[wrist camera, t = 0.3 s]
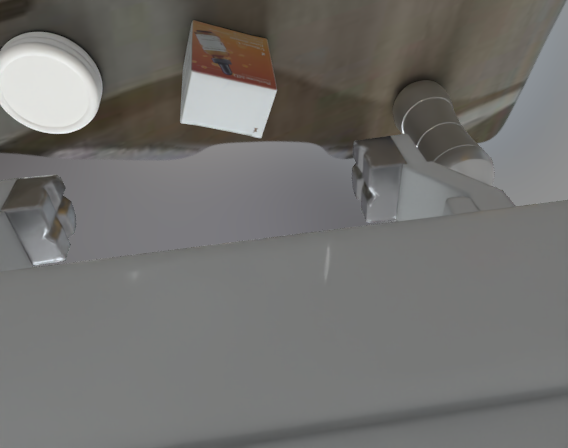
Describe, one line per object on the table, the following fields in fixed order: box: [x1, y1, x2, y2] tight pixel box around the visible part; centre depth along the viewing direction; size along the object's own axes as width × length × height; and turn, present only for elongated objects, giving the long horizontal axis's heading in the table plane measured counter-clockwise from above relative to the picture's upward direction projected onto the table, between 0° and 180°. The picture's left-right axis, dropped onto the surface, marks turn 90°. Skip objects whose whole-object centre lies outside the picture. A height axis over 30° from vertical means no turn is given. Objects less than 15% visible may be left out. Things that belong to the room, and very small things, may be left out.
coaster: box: [0, 32, 103, 134], centre depth 50 cm, size 10×10×4 cm
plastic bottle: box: [393, 80, 495, 186], centre depth 52 cm, size 6×7×20 cm
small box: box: [180, 20, 277, 138], centre depth 48 cm, size 8×6×10 cm
